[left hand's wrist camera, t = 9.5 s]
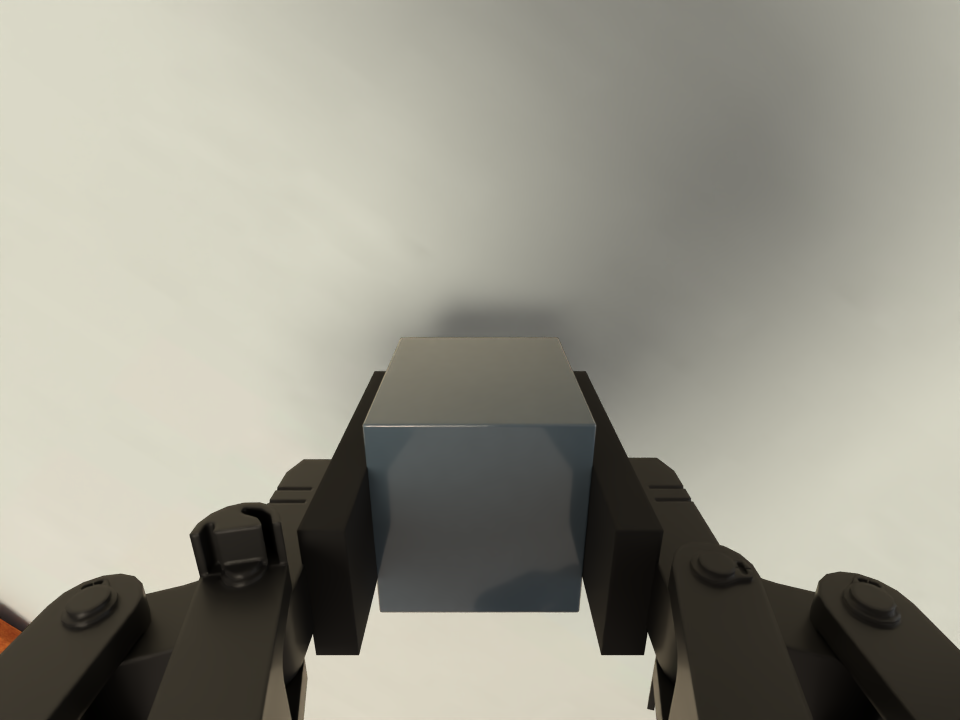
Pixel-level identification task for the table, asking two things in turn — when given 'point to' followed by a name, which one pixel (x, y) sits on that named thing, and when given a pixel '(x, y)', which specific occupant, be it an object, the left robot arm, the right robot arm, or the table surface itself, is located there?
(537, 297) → the table surface
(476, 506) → the brick
